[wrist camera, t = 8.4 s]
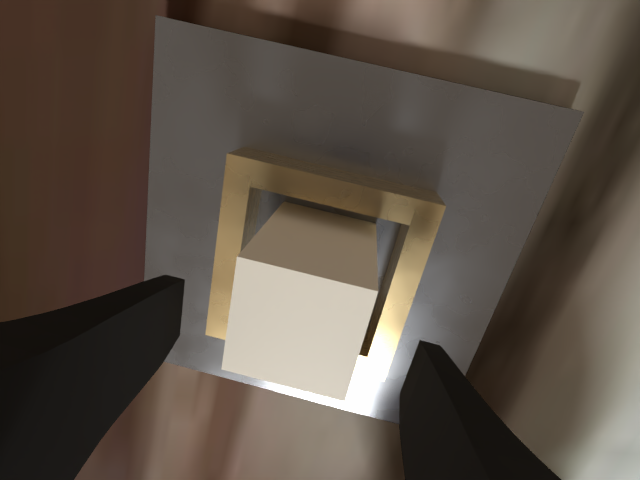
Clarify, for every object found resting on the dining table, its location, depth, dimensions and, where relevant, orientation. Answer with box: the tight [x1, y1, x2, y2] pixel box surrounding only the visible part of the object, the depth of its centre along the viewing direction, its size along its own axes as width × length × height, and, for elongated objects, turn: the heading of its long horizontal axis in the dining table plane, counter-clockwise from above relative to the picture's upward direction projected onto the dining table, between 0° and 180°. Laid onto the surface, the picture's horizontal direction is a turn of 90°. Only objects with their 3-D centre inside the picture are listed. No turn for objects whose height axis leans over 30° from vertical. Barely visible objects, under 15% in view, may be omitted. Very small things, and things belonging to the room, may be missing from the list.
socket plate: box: [144, 15, 584, 424], centre depth 16 cm, size 16×16×3 cm
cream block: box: [221, 202, 378, 402], centre depth 14 cm, size 4×4×6 cm
